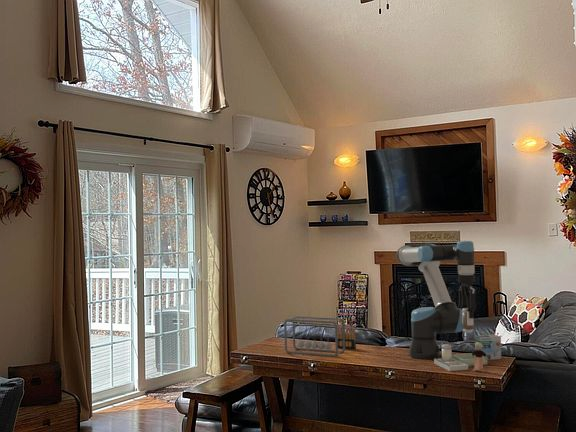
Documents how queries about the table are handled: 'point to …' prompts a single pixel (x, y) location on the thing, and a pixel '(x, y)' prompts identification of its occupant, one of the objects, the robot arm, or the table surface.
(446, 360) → the fuse
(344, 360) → the table surface
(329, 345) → the newton's cradle
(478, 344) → the grandmother figurine
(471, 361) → the parts tray
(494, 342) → the light bulb box
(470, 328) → the white and tan cylinder
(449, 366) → the white flat frame
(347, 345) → the ammunition clip
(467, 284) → the robot arm
